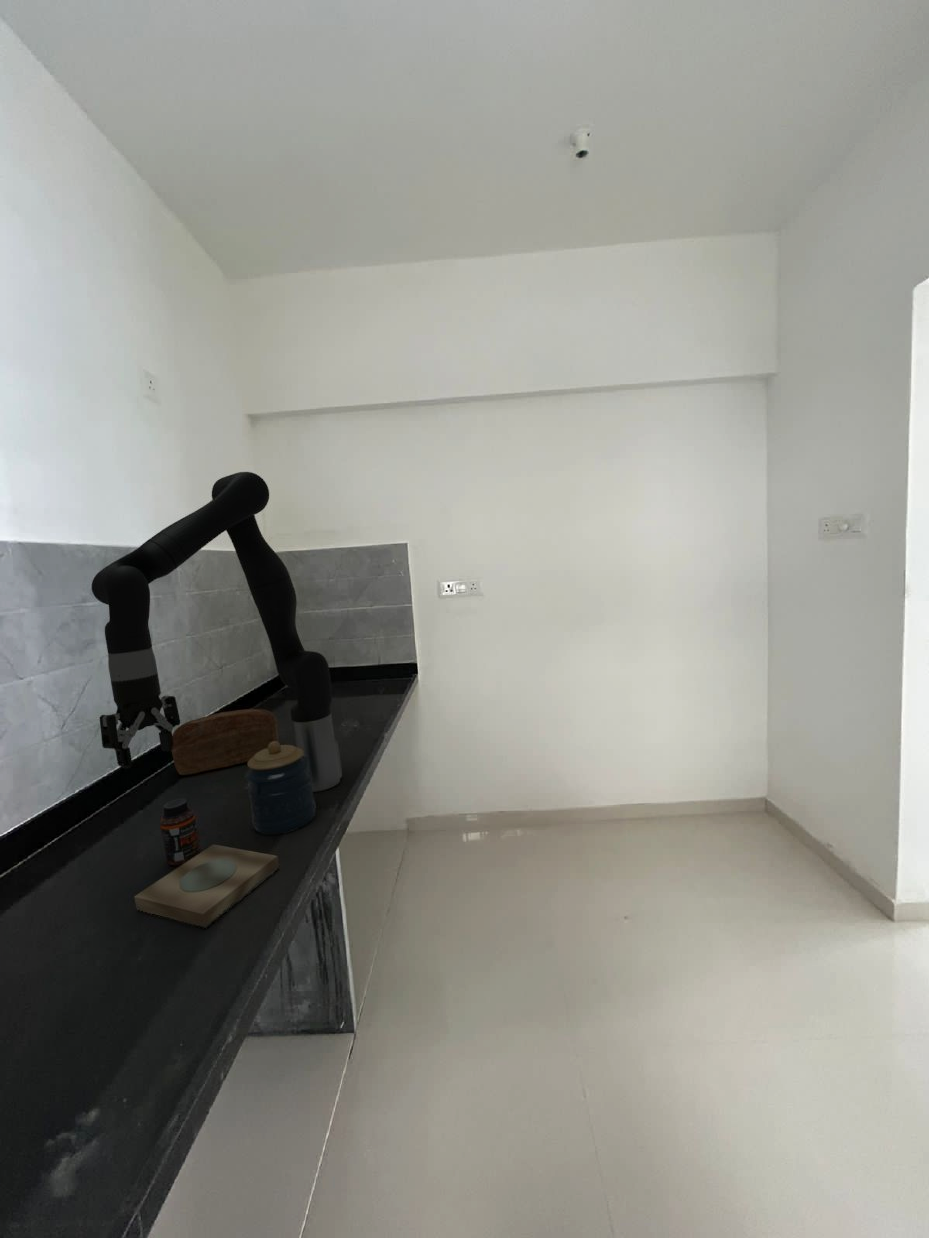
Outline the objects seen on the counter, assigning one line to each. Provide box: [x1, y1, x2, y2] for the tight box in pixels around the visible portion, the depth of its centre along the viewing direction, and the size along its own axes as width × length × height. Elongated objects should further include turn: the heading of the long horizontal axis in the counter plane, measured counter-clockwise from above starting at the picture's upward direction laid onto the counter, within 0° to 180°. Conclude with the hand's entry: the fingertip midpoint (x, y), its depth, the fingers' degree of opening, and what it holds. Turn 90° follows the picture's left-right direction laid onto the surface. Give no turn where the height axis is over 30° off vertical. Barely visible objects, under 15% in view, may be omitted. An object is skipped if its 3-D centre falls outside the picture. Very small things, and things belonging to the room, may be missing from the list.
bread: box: [170, 708, 279, 776], centre depth 154 cm, size 12×28×14 cm, turn 110°
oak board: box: [134, 844, 280, 927], centre depth 94 cm, size 16×16×3 cm
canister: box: [244, 741, 317, 836], centre depth 115 cm, size 13×13×18 cm
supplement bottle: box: [159, 798, 202, 866], centre depth 104 cm, size 6×6×11 cm
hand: (147, 758), depth 102 cm, fingers open, 8 cm apart
